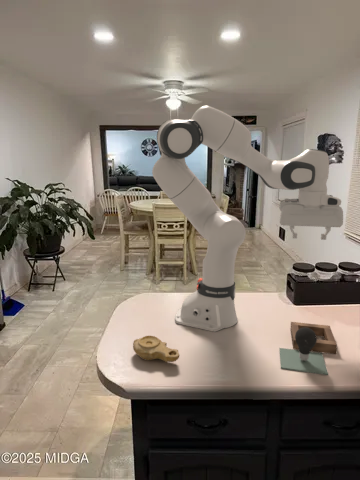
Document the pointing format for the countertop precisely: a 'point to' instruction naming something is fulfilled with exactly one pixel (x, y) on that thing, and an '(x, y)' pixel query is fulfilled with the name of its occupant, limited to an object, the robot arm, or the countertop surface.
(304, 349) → the light bulb
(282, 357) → the rubber mat
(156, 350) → the oil lamp
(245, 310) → the countertop surface
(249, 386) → the countertop surface
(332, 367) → the countertop surface
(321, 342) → the socket block
